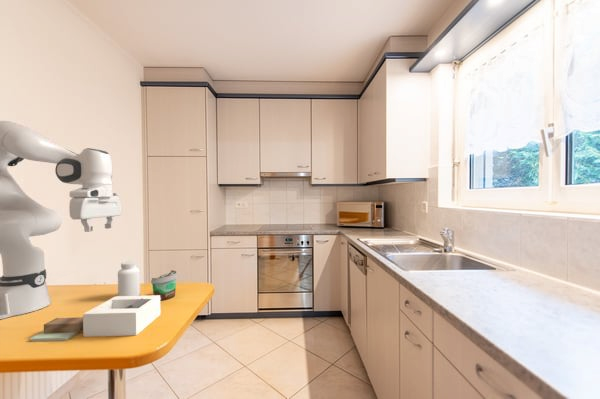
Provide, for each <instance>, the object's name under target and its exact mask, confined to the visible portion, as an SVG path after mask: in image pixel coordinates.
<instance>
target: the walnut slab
mask: <svg viewBox="0 0 600 399" xmlns="http://www.w3.org/2000/svg"><path fill="white" fill-rule="evenodd" d="M43 331H44V333H73V332H79V333H82V332H83V316H79V317H78V316H77V317H56V318H54V319H52V320H50V321H48V322H46V323H44V324H43Z"/></svg>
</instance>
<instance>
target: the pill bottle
mask: <svg viewBox="0 0 600 399" xmlns="http://www.w3.org/2000/svg"><path fill="white" fill-rule="evenodd" d="M120 268H121V269H119V270H118V271H117V296H141V295H140V294H141V278H140V277H141V276H140V275H141V273H140V272H141V270H140V268H139V267H137V261H135V260H128V261H123V262H121V264H120Z"/></svg>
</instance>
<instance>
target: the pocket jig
mask: <svg viewBox="0 0 600 399" xmlns="http://www.w3.org/2000/svg"><path fill="white" fill-rule="evenodd" d="M142 298H143V300H145V302H144V303H143V304H141V305H140V306H138V307H137V308H128V309H124V308H126V307H128V306H130V305H131V304H132V305H133V304H134V303H135V302H137V301H138V300H140V299H142ZM133 306H134V305H133ZM161 312H162V311H161V301H160V295H153V294H152V295H151V294H150V295H139V296H118V295H117V296H116V295H115V296H113V297H111V298H110V299H108V300H105V301H104V302H102V303H100V304H99V305H97V306H95V307H93V308H91V309H90V310H87V311H85V312H84V313H83V314H82V317H83V331H82V332H83V333H82V334H83V337H116V336H117V337H119V336H137V335H138V334H140V332H142V331H143V330H144V329H145V328H147V327H148V326H149V325H150V324H151V323H152V322H153V321H154V320H156V319H158V318H159V316H161Z"/></svg>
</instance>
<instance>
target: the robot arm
mask: <svg viewBox="0 0 600 399" xmlns="http://www.w3.org/2000/svg"><path fill="white" fill-rule="evenodd" d="M24 160H28V161H33V162H40V163H49V164H56V166H55V171H54V172H55V175H56V177H57V179H58V180H59V181H60V182H61V183H63V184H68V185H78V186H79V185H81V186H82V187H79V188H76V189H73V190H71V191H69V193H68V194H69V198H71V199H70V201H69V208H68V209H69V216H70V218H71V220H80V223H81V225H82V227H83V228H84V229H83V231H84V232H85V233H87V232H88V233H89V232H90V233H91V232H93V231H94V230H93V227H94V226H92V225H91V224H90V223H91V219H98V218H105V219H106V223H104V228H105V229H106V230H107V229H112V228H113V223H114V221H115V217H118V216H121V215H122V213H123V212H122V202H121V200H120V199H121V198H120V197H119V195H118V194H117V193H116V192H114V191H113V190H114V185H113V182H112V178H113V162H112V157H111V155H110V153H109V152H107V151H105V150H101V149H96V148H92V147H91V148H89V147H88V148H83V149H82V151H80V153H76V152H73V151H71V150H69V149H67V148H65V147H63V146H62V145H60V144H58V143H56V142H54V141H52V140H50V139H48V138H47V137H45V136H43V135H41V134H40V133H37V132H36V131H35V130H32V129H30V128H28V127H27V126H24V125H21V124H18V123H16V122H12V121H11V120H10V121H9V120H0V257H1V263H2V264H1V265H2V275H1V276H0V320H2V319H6V318H9V317H10V318H11V317H15V316H19V315H25V314H27V313H32V312H35V311H39V310H40V309H41V310H42V309H43V308H45V307H48V306H49V305H50V304H51V303H52V301H51V296H50V295H49V289H48V284H47V282H46V279H47V270H46V269H45V252H44V250H43V249H42V248H40V247H38V246H34V245H33V244H32V242H31V240H30V237H35V236H37V237H38V236H43V235H44V236H45V235H48V234H50V233H53V232H56V231H58V230H59V229H60V227H61V226H62V223H63V222H62V221H63V219H62V216H61V215H60V213H58V212H57V210H53V209H51V208H49V207H46V206H44V205H42V204H40V203H38V202H37V201H36V200H34V199H32V198H31V197H30V196H29V195H27V194H26V192H24V190H23V188H21V187H20V185H19V184H18V183H17V181H16V180H15V179H14V177H13V176H12V175H11V173H10V172H9V170H8V167H15V166H17V165H18V163H21V162H22V161H24Z"/></svg>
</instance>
